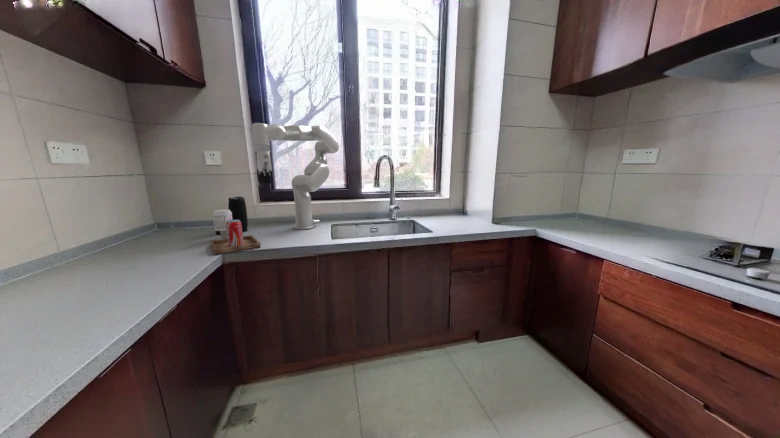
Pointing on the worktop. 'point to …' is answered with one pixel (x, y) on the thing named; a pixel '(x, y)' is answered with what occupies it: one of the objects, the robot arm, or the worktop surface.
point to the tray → (224, 248)
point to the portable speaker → (239, 211)
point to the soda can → (234, 233)
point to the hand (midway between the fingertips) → (265, 182)
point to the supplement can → (221, 223)
